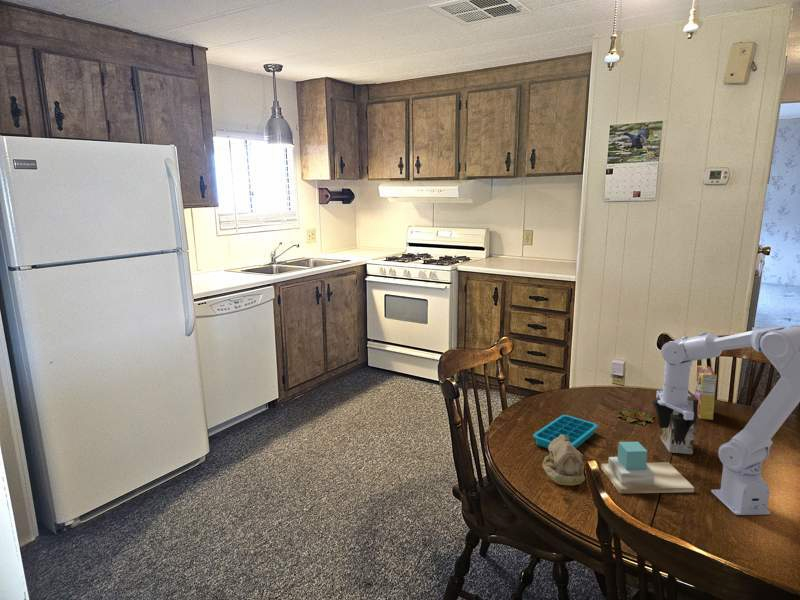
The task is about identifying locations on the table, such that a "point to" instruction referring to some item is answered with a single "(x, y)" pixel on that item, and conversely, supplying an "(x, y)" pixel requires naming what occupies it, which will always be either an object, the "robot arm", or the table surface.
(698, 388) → the candy box
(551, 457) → the ceramic model
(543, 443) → the ice cube tray
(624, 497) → the table surface
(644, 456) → the teal cube
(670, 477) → the stacking base
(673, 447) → the coffee box
